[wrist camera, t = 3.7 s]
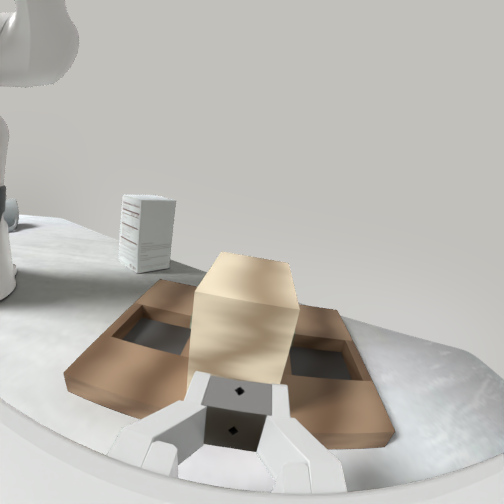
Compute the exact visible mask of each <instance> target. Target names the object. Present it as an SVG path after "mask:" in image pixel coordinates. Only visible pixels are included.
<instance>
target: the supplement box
mask: <svg viewBox="0 0 504 504" xmlns="http://www.w3.org/2000/svg"><path fill="white" fill-rule="evenodd" d="M175 207H176V201H175V200H173V199H169V198H165V197H160V196H156V195H123V199H122V210H121V223H120V239H119V262H121V263H122V264H123V265H125V266H126V267H128V268H129V269H131V270H132V271H134V272H135V273H143V272H149V271H154V270H160V269H166V268H169V266H170V254H171V243H172V233H173V224H174V214H175Z"/></svg>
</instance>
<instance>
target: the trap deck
mask: <svg viewBox="0 0 504 504" xmlns="http://www.w3.org/2000/svg"><path fill="white" fill-rule="evenodd" d="M196 289H197V287H196V286H191V285H186V284H181V283H176V282H171V281H166V280H162V279H160V280H159V281H157V282H156V283H155V284H154V285H153V286H152V287H151V288H150V289H149V290H148V291H147V292H146V293H145V294H143V295H142V296H141V297H140V298H139V299H138V300H137V301H136V302H135V303H134V304H133V305H132V306H131V307H130V308H129V309H128V310H126V311H125V312H124V313H123V314H122V315H121V316H120V317H119V318H118V319H117V320H116V321H115V322H114V323H113V324H112V325H111V326H110V327H109V328H108V329H107V330H106V331H105V332H104V333H103V334H102V335H101V336H100V337H99V338H98V339H97V340H96V341H94V342H93V343H92V344H91V345H90V346H89V347H88V348H87V349H86V350H85V351H84V352H83V353H82V354H81V355H80V356H79V357H78V358H77V359H76V360H75V362H74V363H73V364H72V365H71V366H70V367H69V368H68V369H67V370H66V371H65V372H64V377H65V382H66V386H67V389H68V391H69V392H71V393H73V394H76V395H78V396H80V397H82V398H85V399H87V400H90V401H92V402H94V403H97V404H99V405H102V406H105V407H107V408H110V409H112V410H115V411H118V412H121V413H124V414H127V415H129V416H132V417H136V418H139V419H143V418H145V417H147V416H149V415H151V414H153V413H155V412H157V411H159V410H161V409H163V408H165V407H167V406H169V405H171V404H173V403H175V402H176V401H178V400H181V401H184V398H185V396H186V393H187V377H188V362H189V349H190V336H191V325H192V314H193V303H194V294H195V290H196ZM299 308H300V311H299V316H298V319H297V323H296V327H295V331H294V335H293V339H292V343H291V346H290V350H289V354H288V357H287V361H286V365H285V368H284V372H283V375H282V379H281V382H280V384H284V385H287V386H288V394H289V405H290V417H291V418H295V419H296V420H297V421H298V422H299V423H300V424H301V425H302V426H303V427H304V428H305V429H306V430H308V431H309V432H310V433H311V434H312V435H313V436H314V437H315V438H316V439H317V440H318V441H319V442H320V443H321V444H322V445H323V446H324V447H325V448H326V449H361V448H378V447H385V446H386V444H387V443H388V441H389V440H390V438H391V437H392V435H393V434H394V432H395V430H394V428H393V425H392V423H391V421H390V419H389V416H388V414H387V412H386V410H385V407H384V405H383V403H382V401H381V399H380V397H379V394H378V392H377V390H376V388H375V386H374V384H373V381H372V379H371V377H370V375H369V373H368V371H367V369H366V367H365V365H364V363H363V361H362V359H361V356H360V354H359V352H358V350H357V348H356V346H355V344H354V342H353V340H352V338H351V336H350V334H349V332H348V330H347V328H346V326H345V324H344V322H343V320H342V319H341V317H340V315H339V313H338V311H337V310H333V309H326V308H319V307H312V306H306V305H299Z"/></svg>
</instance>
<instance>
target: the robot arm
mask: <svg viewBox="0 0 504 504" xmlns="http://www.w3.org/2000/svg"><path fill="white" fill-rule="evenodd" d="M14 1H15V4H16V12H13V13H0V86H7V87H33V86H41V85H49V84H54V83H55V82H57V81H58V80H59V79H60V78H62V77H63V76H64V74H65V73H66V72H67V71H68V70H69V68H70V67H71V65H72V64H73V62H74V60H75V58H76V55H77V52H78V47H79V35H78V31H77V29H76V27H75V25H74V24H73V22H72V21H71V19H70V17H69V15H68V13H67V10H66V6H65V0H14ZM8 141H9V130H8V126H7V124H6V122H5V121H4V119H3V118H2V117H1V116H0V300H2V299H3V298H5V297H6V296H8V295H9V294H10V293H11V292H12V291H13V290H14V288H15V286H16V281H15V277H14V276H15V275H16V273H17V268H16V265H15V264H13V263H12V256H11V249H10V241H9V232H8V225H7V222H6V221H5V220H4V217H3V213H4V212H5V205H6V187H5V186H4V174H5V163H6V155H7V147H8ZM203 444H208V445H214V446H220V447H227V448H234V449H240V450H246V451H253V452H256V453H257V455H258V457H259V458H260V460H261V461H262V463H263V464H264V466H265V467H266V469H267V470H268V472H269V473H270V475H271V476H272V478H273V479H274V481H275V482H276V483H275V485H274V487H273V489H272V491H271V493H269V492H257V491H247V490H238V489H231V488H224V487H218V486H212V485H207V484H201V483H196V482H192V481H187V480H183V479H179V478H178V465H179V464H180V463H182V462H183V461H184V460H186V459H187V458H188V457H189V456H191V455H192V454H193V453H194V452H196V451H197V450H198V449H199V448H200V447H202V446H203ZM0 504H504V453H502V454H500V455H497V456H495V457H493V458H490V459H488V460H485V461H483V462H480V463H477V464H475V465H472V466H469V467H466V468H463V469H460V470H457V471H454V472H451V473H447V474H444V475H441V476H437V477H433V478H429V479H425V480H421V481H417V482H412V483H407V484H402V485H397V486H391V487H385V488H378V489H371V490H363V491H353V492H347V488H346V483H345V478H344V473H343V469H342V464H341V461H339V460H338V459H337V458H336V457H335V456H334V455H333V454H332V453H331V452H330V451H329V450H327V449H326V448H325V447H324V446H323V445H322V444H321V443H320V442H319V441H318V440H317V439H316V438H315V437H314V436H313V435H312V434H311V433H310V432H309V431H308V430H306V429H305V428H304V427H303V426H302V425H301V424H300V423H299V422H298V421H297V420H296V419H295V418H291V417H290V405H289V394H288V386H287V385H284V384H273V383H272V384H269V383H261V382H253V381H246V380H241V379H235V378H230V377H225V376H220V375H215V374H210V373H205V372H200V371H196V372H195V373H194V375H193V378H192V380H191V383H190V385H189V388H188V391H187V393H186V396H185V398H184V401H181V400H178V401H176V402H175V403H173V404H171V405H169V406H167V407H165V408H163V409H161V410H159V411H157V412H155V413H153V414H151V415H149V416H147V417H145V418H143V419H140V420H138V421H136V422H134V423H132V424H130V425H128V426H125V427H123V428H122V429H121V431H120V433H119V434H118V436H117V438H116V440H115V441H114V443H113V445H112V447H111V448H110V450H109V452H108V454H107V456H106V455H104V454H101V453H99V452H97V451H94V450H92V449H90V448H87V447H85V446H83V445H81V444H79V443H76V442H74V441H72V440H70V439H68V438H66V437H64V436H62V435H60V434H58V433H56V432H55V431H53V430H51V429H49V428H47V427H45V426H44V425H42V424H40V423H38V422H37V421H35V420H33V419H32V418H30V417H28V416H27V415H25V414H24V413H22V412H20V411H19V410H17V409H16V408H14V407H13V406H11V405H10V404H8V403H7V402H5V401H4V400H3V399H1V398H0Z"/></svg>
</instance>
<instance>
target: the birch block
mask: <svg viewBox="0 0 504 504" xmlns="http://www.w3.org/2000/svg"><path fill="white" fill-rule="evenodd" d="M299 311H300V308H299V304H298V300H297V295H296V291H295V288H294V283H293V279H292V275H291V271H290V267H289V263H285V262H279V261H274V260H267V259H262V258H256V257H251V256H245V255H239V254H233V253H227V252H221V253H220V255H219V256H218V258H217V259H216V261H215V262H214V263H213V265H212V266H211V268H210V269H209V271H208V272H207V274H206V275H205V277H204V278H203V280H202V281H201V283H200V284H199V286H198V287H197V289H196V290H195V294H194V303H193V314H192V325H191V336H190V349H189V362H188V377H187V391H188V388H189V385H190V383H191V380H192V378H193V375H194V373H195V372H196V371H200V372H205V373H210V374H215V375H220V376H225V377H230V378H235V379H241V380H246V381H253V382H261V383H269V384H272V383H273V384H280V382H281V379H282V375H283V372H284V368H285V365H286V361H287V357H288V354H289V350H290V346H291V343H292V339H293V335H294V331H295V327H296V323H297V319H298V316H299Z"/></svg>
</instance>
